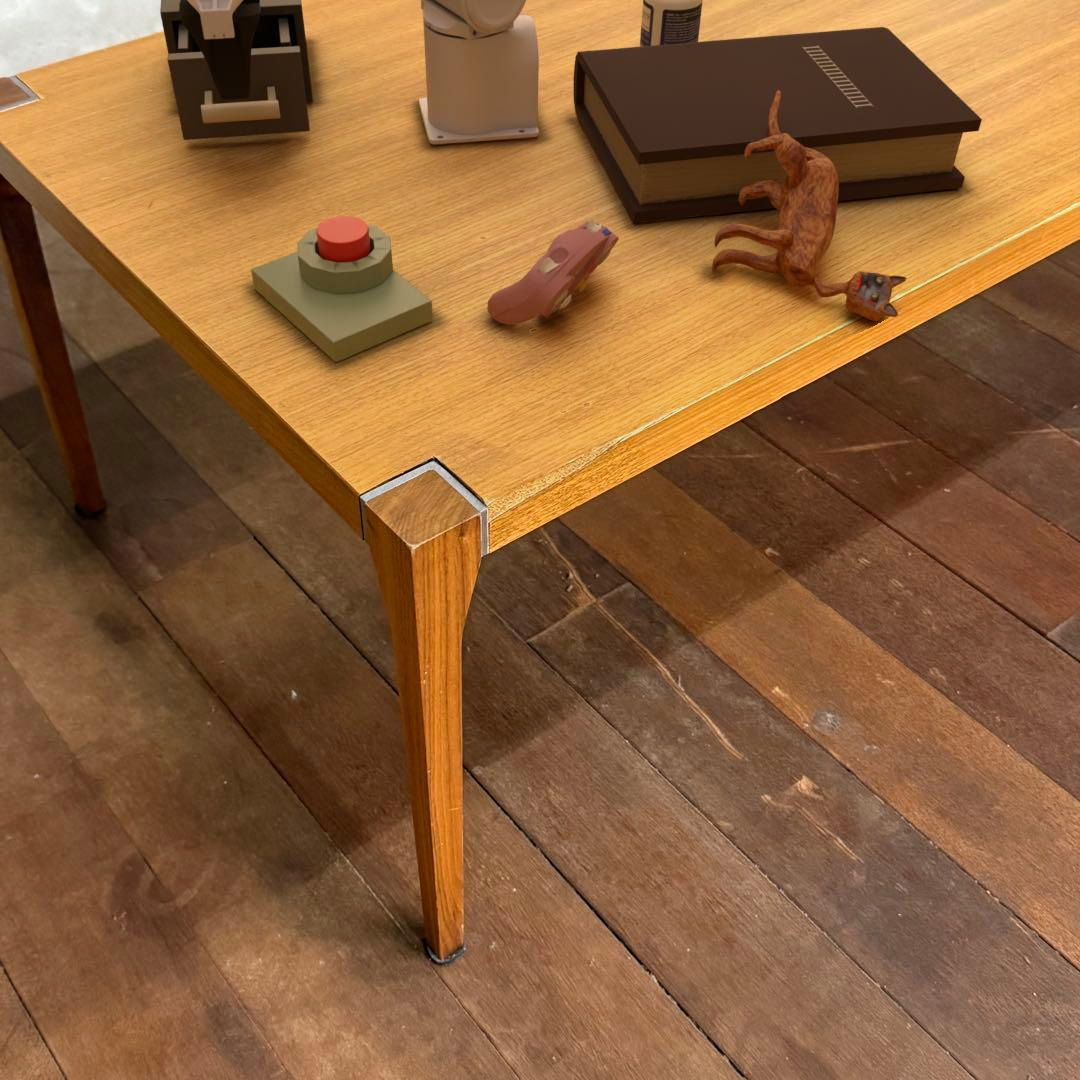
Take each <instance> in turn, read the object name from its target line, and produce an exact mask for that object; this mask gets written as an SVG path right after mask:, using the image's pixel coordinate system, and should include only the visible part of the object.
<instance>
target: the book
mask: <svg viewBox="0 0 1080 1080" xmlns="http://www.w3.org/2000/svg"><path fill="white" fill-rule="evenodd" d="M573 67H574V69H573V105H574V112H575V116H576V118H577V121H578V123H579V125H580V126H581V129H582V131H583V132H584V134H585V136H586V138H587V140H588V141H589V144H590V145H591V147H592V148H593V149H592V150H594V152H595V154H596V156H597V158H598V160H599V162H600V163H601V165H602V167H603V170H604V171H605V173H606V175H607V176H608V178H609V180H610V182H611V184H612V185H613V187H614V189H615V191H616V193H617V195H618V197H619V198H620V200H621V202H622V204H623V206H624V207H625V210H626V211H627V213H628V216H629V217H630V219H631V221H632V222H633V224H638V223H648V222H657V221H665V220H666V221H667V220H675V219H676V220H677V219H685V218H686V219H687V218H694V217H695V218H696V217H702V216H713V215H720V214H721V215H722V214H733V213H740V212H750V211H759V210H760V211H761V210H770V209H776V208H775V207H774V206H773V205H772V203H771V201H770V199H769V197H768V196H765V197H761V198H756V199H746V201H745V202H744V204H743V205H741V204H740V203H739V194H740V191H741V189H742V188H744V187H747V186H750V185H752V184H754V183H756V182H759V181H765V180H774V181H777V182H778V183H779V184H780V186H781V187H782V184H783V182H784V179H785V177H786V175H787V173H786V171H785V169H784V168H783V167H782V165H781V164H780V163H779V161H778V158H777V155H776V153H775V150H773V149H768V150H763V151H753V152H752V153H751V155H750V157H748V158H745V157H744V153H745V149H746V147H747V145H748V144H750V143H752V142H757V141H760V140H762V139H765V138H768V137H769V135H768V130H767V120H768V115H769V111H770V108H771V105H772V103H773V100H774V97H775V94H776V92H777V91H781V94H782V95H781V102H780V107H779V110H778V115H777V120H778V127H779V130H780V132H781V133H787V134H789V135H790V136H791V137H792V138H793V139H794V140H796V141H797V142H799V143H800V144H801V145H803V146H804V147H807V148H810V149H814V150H816V151H818V152H820V153H822V154H823V155H825V156H826V157H827V158H829V159H830V160H831V161H832V163H833V165H834V167H835V169H836V172H837V175H838V181H839V192H838V201H837V202H843V201H851V200H862V199H869V198H870V199H871V198H880V197H888V196H899V195H908V194H917V193H918V194H919V193H926V192H934V191H935V192H936V191H944V190H953V189H963V185H964V181H965V179H966V176H965V175H964V174H963V172H961V171H960V170H959V169H958V168H957V166H955V161H956V159H957V155H958V152H959V148H960V145H961V141H962V138H963V134H964V133H972V132H979V131H980V128H981V124H982V121H983V118H981V117H980V116H979V115H978V114H977V112H976V111H974V110H973V109H972V108H971V107H970V106H969V105H968V104H967V103H966V102H965V101H964V100H963V99H962V98H961V97H959V95H957V93H956V92H955V91H953V90H952V88H950V87H949V86H948V85H947V84H946V83H945V82H944V81H943V80H942V79H941V78H940V77H939V76H938V75H937V74H936V73H935V72H934V71H933V70H931V68H929V66H928V65H927V64H926V63H924V61H922V59H920V57H918V56H917V55H916V53H914V52H913V51H912V50H911V49H910V48H909V47H908V46H907V45H906V44H905V43H904V42H903V41H901V39H899V37H897V35H895V34H894V33H893V32H892V31H891V30H890V29H889V28H888V27H885V26H878V27H877V26H876V27H865V28H864V27H863V28H853V29H840V30H828V31H816V32H815V31H814V32H803V33H802V32H801V33H792V34H791V33H790V34H780V35H779V34H778V35H765V36H756V37H755V36H754V37H743V38H742V37H741V38H729V39H718V40H717V39H716V40H706V41H705V40H703V41H698V42H691V43H679V44H667V45H655V46H642V47H640V46H632V47H631V46H629V47H620V48H608V49H607V48H606V49H595V50H582V51H577V52H576V54H575V58H574V65H573Z"/></svg>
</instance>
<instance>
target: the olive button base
mask: <svg viewBox="0 0 1080 1080" xmlns="http://www.w3.org/2000/svg"><path fill="white" fill-rule="evenodd" d="M366 224H367V225H368V228H369V238H370V253H369V255H368V256H367V257H364V258H362V259H359V260H357V261H354V262H342V263H337V262H333V261H329V260H324V259H323V258H322V257H321V256H320V254H319V248H318V240H317V232H316V231H317V227H315V228H313V229H310V230H308V231H307V232H306V233H305V234H304V235H303V236H302V237H301V238H300V239H299V240H298V241H297V251H295V252H293V253H290V254H287V255H284V256H281V257H280V258H277V259H273V260H271V261H269V262H266V263H264V264H261V265H257V266H255V267H253V268H251V270H250V271H251V277H252V282H253V288H254V290H255V291H256V292H257V293H258V294H259V295H260V296H262V297H263V298H264V299H265V300H266V301H267V302H269V304H270V305H272V306H273V307H274V308H275V309H276V310H277V311H278V312H279V313H280V314H281V315H282V316H284V317H285V319H287V320H288V321H289V322H290V323H291V324H293V325H294V327H296V328H297V329H298V330H299V331H300V332H301V333H302V334H304V335H305V336H306V337H307V338H308V339H309V340H310V341H311V342H313V343H314V344H315V345H316V346H317V347H318V348H319V349H320V350H321V351H322V352H323V353H324V354H326V356H328V357H329V358H330V359H331V360H332V361H333V362H334V363H339V362H341V361H343V360H345V359H348V358H350V357H352V356H355V355H357V354H359V353H361V352H364V351H366V350H368V349H370V348H373V347H376V346H377V345H378V346H379V345H380V344H382V343H384V342H387V341H389V340H392V339H394V338H396V337H399V336H401V335H403V334H405V333H408V332H411V331H412V330H415V329H417V328H420V327H422V326H424V325H426V324H428V323H431V322H433V301H432V300H431V299H430V298H429V297H428V296H426V295H425V294H424V293H423V292H421V290H419V289H417V288H416V287H415V286H414V285H412V283H410V282H408V281H407V280H406V279H405V278H403V276H402V275H399V273H397V272H396V271H395V270H394V264H393V251H392V243H391V237H390V235H388V234H387V233H386V232H385V231H383V230H382V229H380V228H379V227H378V226H377V225H376V226H375V225H371V224H368V223H366Z"/></svg>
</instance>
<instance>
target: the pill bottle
mask: <svg viewBox="0 0 1080 1080" xmlns="http://www.w3.org/2000/svg"><path fill="white" fill-rule="evenodd" d="M703 1H704V0H642V10H641V24H640V25H641V26H640V34H639V35H640V37H639V47H642V46H655V45H667V44H679V43H691V42H699V38H700V29H701V19H702V9H703Z"/></svg>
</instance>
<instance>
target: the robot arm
mask: <svg viewBox="0 0 1080 1080" xmlns="http://www.w3.org/2000/svg"><path fill="white" fill-rule="evenodd" d="M526 2H527V0H420V4H421V5H420V9H421V10H422V18H423V19H422V20H423V21H422V22H423V23H422V25H423V40H424V41H423V42H424V57H425V59H424V61H425V82H426V97H420V98H419V99H418V106H419V109H420V112H421V118H422V122H423V125H424V129H425V133H426V137H427V141H428V143H429V144H431V145H446V144H458V143H473V142H486V141H487V142H489V141H500V140H502V141H503V140H515V139H527V138H529V139H530V138H536V137H538V136H539V135H540V131H539V127H538V120H539V119H538V118H539V114H538V113H539V72H540V71H539V63H540V62H539V61H540V60H539V59H540V57H539V44H538V41H539V40H538V33H537V28H536V24H535V20H534V17H533V16H532V15H530V14H521V13H522V11H523V9H524V7H525V4H526ZM179 14H180V18H181V21H182V23H183V24H184V26H185V28H186V29H187V30H188V31H189V32H190V34H191V35H192V36H193V38H194V39H195V41H196V42H197V44H198V46H199V48H200V49H201V51H202V53H203V56H204V58H205V60H206V63H207V65H208V68H209V71H210V73H211V76H212V79H213V81H214V84H215V87H216V89H217V91H218V93H219V95H220V97H221V99H223V100H227V99H243V98H249V93H250V81H251V48H252V41H253V37H254V33H255V30H256V27H257V25H258V22H259V18H260V14H261V10H260V0H180V3H179Z"/></svg>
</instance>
